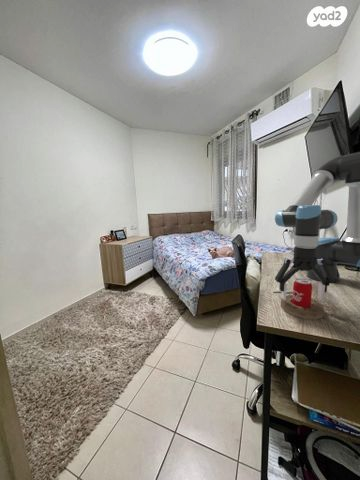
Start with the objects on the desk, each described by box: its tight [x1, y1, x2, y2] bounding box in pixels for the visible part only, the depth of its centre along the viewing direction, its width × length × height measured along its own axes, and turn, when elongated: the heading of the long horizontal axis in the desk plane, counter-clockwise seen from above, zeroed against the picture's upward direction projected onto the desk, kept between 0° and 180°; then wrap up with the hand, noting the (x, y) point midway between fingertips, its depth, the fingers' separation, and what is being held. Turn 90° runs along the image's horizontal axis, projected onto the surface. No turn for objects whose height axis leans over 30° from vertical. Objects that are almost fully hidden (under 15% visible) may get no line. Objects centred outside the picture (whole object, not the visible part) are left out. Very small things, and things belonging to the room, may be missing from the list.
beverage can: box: [292, 278, 313, 308], centre depth 75 cm, size 6×6×12 cm
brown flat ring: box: [280, 294, 325, 320], centre depth 76 cm, size 14×14×3 cm
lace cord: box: [272, 289, 293, 294], centre depth 92 cm, size 12×1×1 cm, turn 83°
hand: (301, 299), depth 75 cm, fingers open, 13 cm apart
